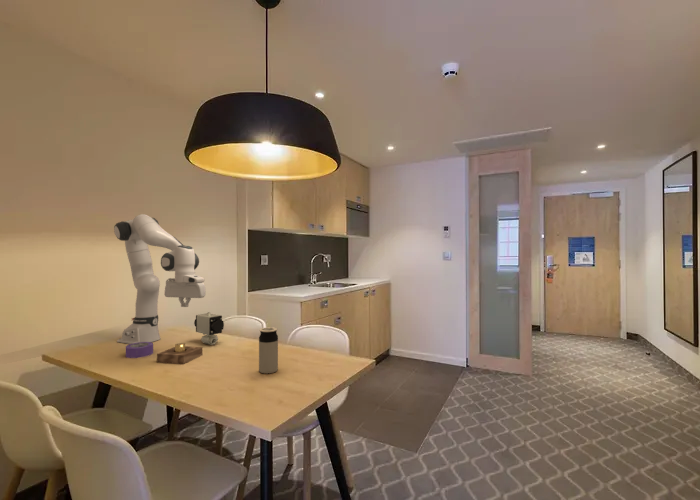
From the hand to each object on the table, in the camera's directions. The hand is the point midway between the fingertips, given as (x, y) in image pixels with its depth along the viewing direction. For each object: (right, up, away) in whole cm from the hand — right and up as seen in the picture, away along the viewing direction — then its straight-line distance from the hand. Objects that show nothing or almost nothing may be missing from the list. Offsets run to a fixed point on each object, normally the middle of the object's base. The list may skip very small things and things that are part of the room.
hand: (184, 306), depth 165 cm
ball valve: (+2, -25, +25) cm, 35 cm away
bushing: (-1, -25, -2) cm, 25 cm away
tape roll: (-25, -25, +5) cm, 36 cm away
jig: (-1, -25, -2) cm, 25 cm away
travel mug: (+46, -25, -19) cm, 55 cm away
